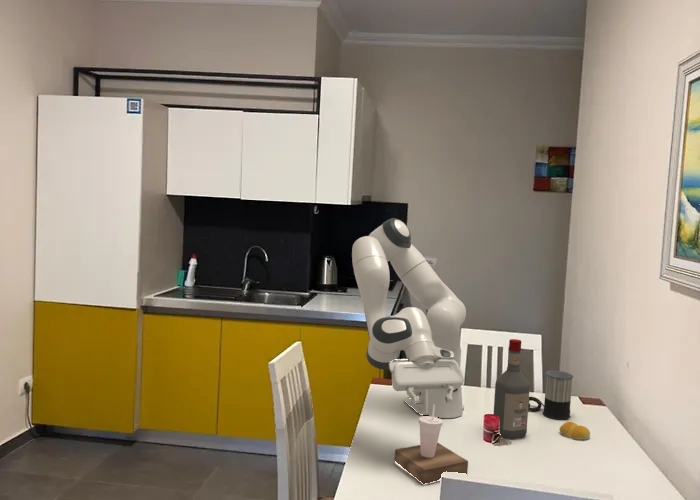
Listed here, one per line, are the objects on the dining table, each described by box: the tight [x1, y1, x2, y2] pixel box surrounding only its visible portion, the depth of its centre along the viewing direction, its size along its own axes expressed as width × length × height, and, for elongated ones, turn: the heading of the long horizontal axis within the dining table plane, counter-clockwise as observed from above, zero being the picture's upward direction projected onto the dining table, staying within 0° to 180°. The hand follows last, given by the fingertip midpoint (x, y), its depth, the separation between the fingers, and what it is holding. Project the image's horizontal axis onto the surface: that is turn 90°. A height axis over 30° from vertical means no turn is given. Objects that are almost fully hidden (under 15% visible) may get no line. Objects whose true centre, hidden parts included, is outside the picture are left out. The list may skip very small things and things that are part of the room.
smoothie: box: [418, 404, 443, 458], centre depth 167 cm, size 6×6×14 cm
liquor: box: [493, 338, 531, 440], centre depth 196 cm, size 9×9×30 cm
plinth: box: [394, 442, 469, 485], centre depth 168 cm, size 14×14×4 cm
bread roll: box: [559, 421, 591, 441], centre depth 198 cm, size 8×9×4 cm
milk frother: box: [528, 370, 574, 421], centre depth 218 cm, size 14×16×15 cm
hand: (433, 402), depth 170 cm, fingers open, 8 cm apart
